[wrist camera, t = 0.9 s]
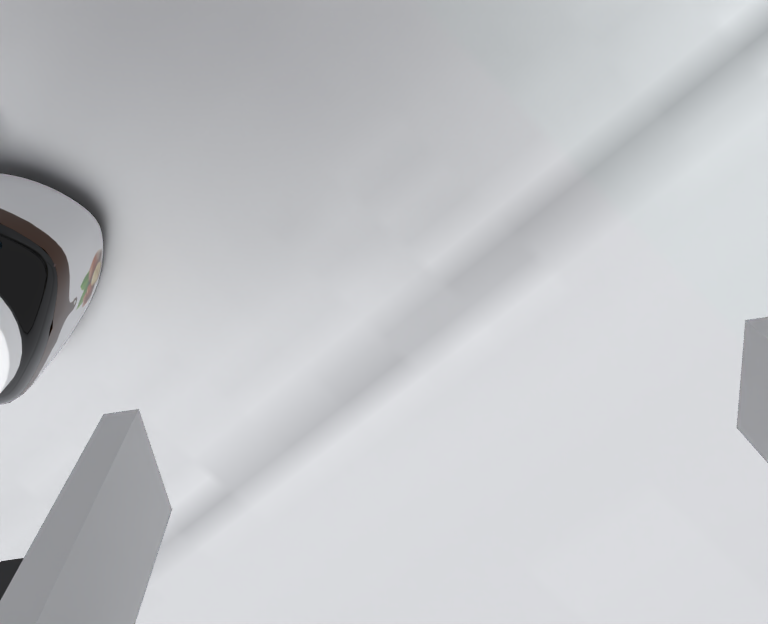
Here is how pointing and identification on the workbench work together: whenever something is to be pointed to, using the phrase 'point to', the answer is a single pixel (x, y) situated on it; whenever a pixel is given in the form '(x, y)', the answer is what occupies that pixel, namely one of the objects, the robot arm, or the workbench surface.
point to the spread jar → (41, 277)
